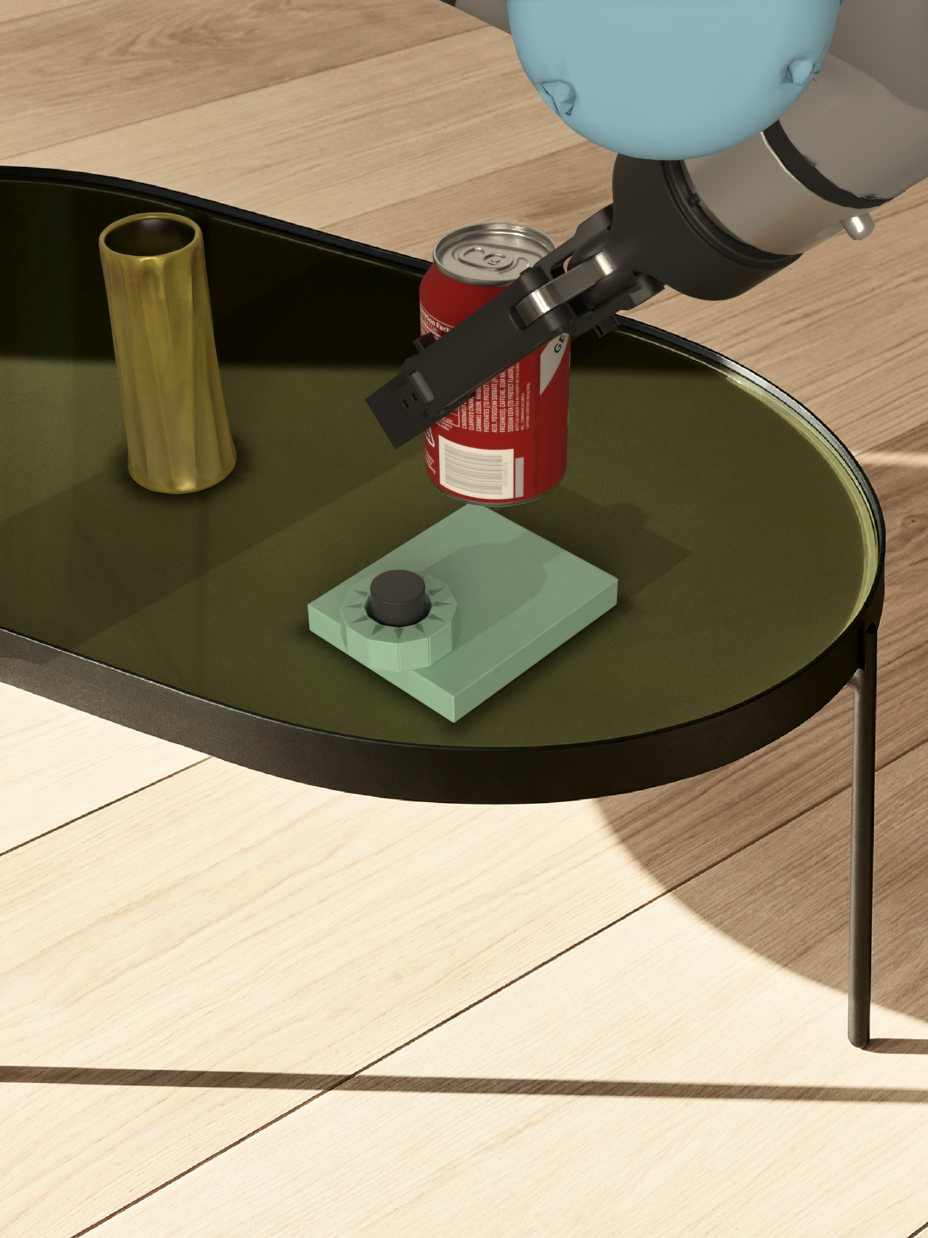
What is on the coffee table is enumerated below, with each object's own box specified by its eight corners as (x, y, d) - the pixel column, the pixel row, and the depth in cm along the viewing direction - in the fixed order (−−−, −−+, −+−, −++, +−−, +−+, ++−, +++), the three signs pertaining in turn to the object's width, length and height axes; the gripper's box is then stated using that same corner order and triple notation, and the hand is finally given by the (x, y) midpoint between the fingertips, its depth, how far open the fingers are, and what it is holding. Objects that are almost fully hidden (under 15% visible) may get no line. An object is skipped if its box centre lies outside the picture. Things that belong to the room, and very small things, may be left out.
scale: (435, 737, 78) (433, 681, 75) (290, 642, 83) (284, 587, 81) (617, 604, 85) (620, 549, 83) (473, 525, 90) (472, 471, 88)
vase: (231, 495, 93) (202, 261, 84) (120, 497, 93) (79, 263, 84) (242, 434, 97) (215, 206, 88) (136, 435, 97) (99, 207, 88)
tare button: (398, 636, 79) (397, 610, 78) (360, 612, 80) (358, 586, 79) (437, 610, 80) (436, 584, 79) (398, 587, 81) (397, 561, 80)
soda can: (519, 535, 77) (521, 302, 70) (398, 490, 80) (387, 262, 72) (592, 464, 82) (601, 238, 74) (474, 424, 84) (471, 202, 77)
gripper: (634, 359, 56) (332, 548, 75) (944, 169, 67) (612, 376, 86) (517, 165, 56) (243, 404, 75) (849, 5, 67) (536, 250, 86)
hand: (441, 389), depth 81 cm, fingers closed on soda can, 7 cm apart
